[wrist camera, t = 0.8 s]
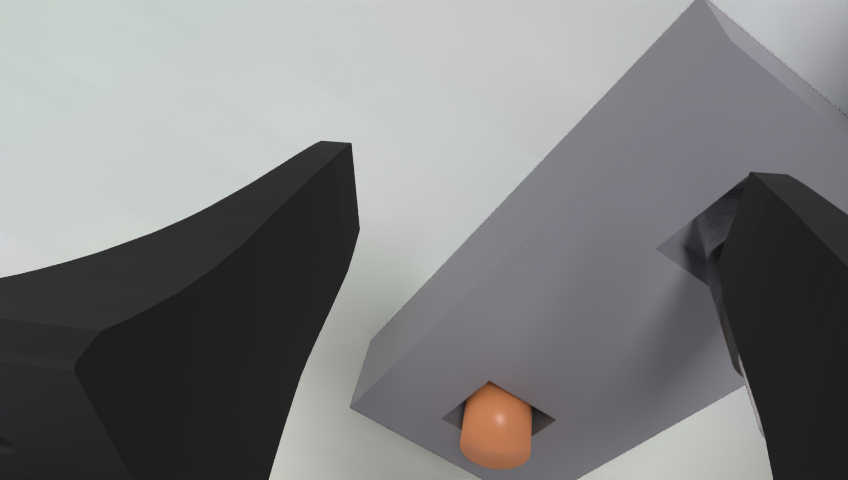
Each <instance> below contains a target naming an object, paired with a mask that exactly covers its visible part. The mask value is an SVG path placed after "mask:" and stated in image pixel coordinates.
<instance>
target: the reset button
mask: <svg viewBox="0 0 848 480" xmlns="http://www.w3.org/2000/svg"><path fill="white" fill-rule="evenodd" d="M531 430H532V405H530V404H528V403H527V402H525V401H523V400H521V399H520V398H518V397H516V396H515V395H513V394H511V393H510V392H508V391H506V390H504V389H503V388H501V387H499V386H498V385H496V384H494V383H492V382H491V381H488V382H487V383H486V384H485V385H483V386H482V387H481V388H479V389H478V390H477V391H476V392H474V393H473V394H472V395H471V396H469V397H468V398H467V399H466V404H465V411H464V418H463V425H462V432H461V439H460V448H461V451H462V452H463V454H464V455H465V456H466V457H467V458H468V459H469V460H471V461H472V462H474V463H476V464H478V465H480V466H483V467H486V468H491V469H511V468H515V467H518V466H520V465H522V464H524V463H525V462H526V461H527V460H528V459H529V457H530V453H531Z"/></svg>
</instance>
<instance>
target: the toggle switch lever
mask: <svg viewBox="0 0 848 480" xmlns="http://www.w3.org/2000/svg"><path fill="white" fill-rule="evenodd" d="M742 193H743V190H729V191H728V192H727V193H725V194H724V195H723V196H722V197H720V198H719V199H718V200H717V201H715V202H714V203H713V204H712V205H710V206H709V207H708V208H707V209H705V210H704V211H703V212H701V213H700V214H699V215H698V216H696V217H695V222H696V226H697V229H698V233H699V236H700V239H701V242H702V246H703V249H704V252H705V255H706V258H707V261H706V264H705V273H706V277H707V281H708V284H709V287H710V291H711V294H712V297H713V301H714V304H715V307H716V311H717V314H718V318H719V321H720V324H721V328H722V331H723V334H724V338H725V341H726V344H727V348H728V351H729V354H730V358H731V361H732V364H733V367H734V369H735V370H736V372H737V373H738V374H739V375H740V376H742V377H743V378H744V381H745V385H746V388H747V391H748V394H749V398H750V401H751V404H752V407H753V411H754V414H755V417H756V420H757V423H758V427H759V430H760V432H761V434H762V436H763V437H764V438H765V436H764V432H763V428H762V425H761V421H760V417H759V414H758V411H757V408H756V405H755V401H754V398H753V395H752V392H751V389H750V386H749V383H748V380H747V377H746V374H745V371H744V368H743V365H742V362H741V359H740V356H739V353H738V350H737V347H736V343H735V340H734V337H733V334H732V331H731V328H730V324H729V321H728V318H727V315H726V311H725V307H724V301H723V295H722V289H721V282H720V275H719V267H718V261H719V258H720V255H721V252H722V250H723V247H724V244H725V241H726V238H727V235H728V233H729V230H730V227H731V224H732V221H733V219H734V216H735V213H736V210H737V207H738V204H739V202H740V199H741V196H742Z"/></svg>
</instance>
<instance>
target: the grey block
mask: <svg viewBox="0 0 848 480" xmlns="http://www.w3.org/2000/svg"><path fill="white" fill-rule="evenodd" d="M750 172H762V173H776V174H788V175H790V176H792V177H793V178H795V179H797V180H798V181H800V182H802V183H803V184H805V185H806V186H808V187H809V188H811V189H812V190H814V191H815V192H817V193H818V194H819V195H821V196H822V197H824V198H825V199H827V200H828V201H829V202H831V203H832V204H833V205H835V206H836V207H838V208H839V209H840V210H842V211H843V212H845V213H846V214H847V215H848V117H847V116H846V115H845V114H843V113H842V112H841V111H840V110H839V109H838V108H836V107H835V106H834V105H833V104H832V103H830V102H829V101H828V100H827V99H826V98H824V97H823V96H822V95H821V94H820V93H818V92H817V91H816V90H815V89H814V88H812V87H811V86H810V85H809V84H808V83H807V82H805V81H804V80H803V79H802V78H801V77H799V76H798V75H797V74H796V73H795V72H793V71H792V70H791V69H790V68H789V67H787V66H786V65H785V64H784V63H783V62H781V61H780V60H779V59H778V58H777V57H776V56H774V55H773V54H772V53H771V52H770V51H768V50H767V49H766V48H765V47H764V46H762V45H761V44H760V43H759V42H758V41H756V40H755V39H754V38H753V37H752V36H750V35H749V34H748V33H747V32H746V31H744V30H743V29H742V28H741V27H740V26H739V25H737V24H736V23H735V22H734V21H733V20H731V19H730V18H729V17H728V16H727V15H725V14H724V13H723V12H722V11H721V10H719V9H718V8H717V7H716V6H715V5H713V4H712V3H711V2H710V1H709V0H695V1H694V2H693V3H692V4H691V5H690V7H689V8H688V9H687V10H686V11H685V12H684V13H683V14H682V15H681V16H680V17H679V18H678V19H677V20H676V21H675V22H674V23H673V24H672V25H671V26H670V27H669V29H668V30H667V31H666V32H665V33H664V34H663V35H662V36H661V37H660V38H659V39H658V40H657V41H656V42H655V43H654V44H653V45H652V46H651V47H650V48H649V50H648V51H647V52H646V53H645V54H644V55H643V56H642V57H641V58H640V59H639V60H638V61H637V62H636V63H635V64H634V65H633V66H632V67H631V68H630V69H629V71H628V72H627V73H626V74H625V75H624V76H623V77H622V78H621V79H620V80H619V81H618V82H617V83H616V84H615V85H614V86H613V87H612V88H611V89H610V90H609V92H608V93H607V94H606V95H605V96H604V97H603V98H602V99H601V100H600V101H599V102H598V103H597V104H596V105H595V106H594V107H593V108H592V109H591V110H590V111H589V112H588V114H587V115H586V116H585V117H584V118H583V119H582V120H581V121H580V122H579V123H578V124H577V125H576V126H575V127H574V128H573V129H572V130H571V131H570V132H569V133H568V135H567V136H566V137H565V138H564V139H563V140H562V141H561V142H560V143H559V144H558V145H557V146H556V147H555V148H554V149H553V150H552V151H551V152H550V153H549V154H548V156H547V157H546V158H545V159H544V160H543V161H542V162H541V163H540V164H539V165H538V166H537V167H536V168H535V169H534V170H533V171H532V172H531V173H530V174H529V175H528V177H527V178H526V179H525V180H524V181H523V182H522V183H521V184H520V185H519V186H518V187H517V188H516V189H515V190H514V191H513V192H512V193H511V194H510V195H509V196H508V197H507V199H506V200H505V201H504V202H503V203H502V204H501V205H500V206H499V207H498V208H497V209H496V210H495V211H494V212H493V213H492V214H491V215H490V216H489V217H488V218H487V220H486V221H485V222H484V223H483V224H482V225H481V226H480V227H479V228H478V229H477V230H476V231H475V232H474V233H473V234H472V235H471V236H470V237H469V238H468V239H467V241H466V242H465V243H464V244H463V245H462V246H461V247H460V248H459V249H458V250H457V251H456V252H455V253H454V254H453V255H452V256H451V257H450V258H449V259H448V260H447V262H446V263H445V264H444V265H443V266H442V267H441V268H440V269H439V270H438V271H437V272H436V273H435V274H434V275H433V276H432V277H431V278H430V279H429V280H428V281H427V283H426V284H425V285H424V286H423V287H422V288H421V289H420V290H419V291H418V292H417V293H416V294H415V295H414V296H413V297H412V298H411V299H410V300H409V301H408V302H407V303H406V305H405V306H404V307H403V308H402V309H401V310H400V311H399V312H398V313H397V314H396V315H395V316H394V317H393V318H392V319H391V320H390V321H389V322H388V323H387V324H386V326H385V327H384V328H383V329H382V330H381V331H380V332H379V333H378V334H377V335H376V336H375V337H374V338H373V339H372V340H371V342H370V346H369V349H368V352H367V355H366V358H365V361H364V364H363V367H362V370H361V373H360V377H359V380H358V383H357V386H356V389H355V392H354V395H353V398H352V401H351V405H350V408H351V409H353V410H355V411H357V412H359V413H360V414H362V415H364V416H366V417H368V418H370V419H372V420H373V421H375V422H377V423H379V424H381V425H383V426H385V427H386V428H388V429H390V430H392V431H394V432H396V433H398V434H399V435H401V436H403V437H405V438H407V439H409V440H410V441H412V442H414V443H416V444H418V445H420V446H422V447H423V448H425V449H427V450H429V451H431V452H433V453H435V454H436V455H438V456H440V457H442V458H444V459H446V460H448V461H449V462H451V463H453V464H455V465H457V466H459V467H461V468H462V469H464V470H466V471H468V472H470V473H472V474H473V475H475V476H477V477H479V478H481V479H483V480H577V479H578V478H580V477H582V476H584V475H586V474H587V473H589V472H591V471H593V470H594V469H596V468H598V467H600V466H602V465H603V464H605V463H607V462H609V461H610V460H612V459H614V458H616V457H618V456H619V455H621V454H623V453H625V452H626V451H628V450H630V449H632V448H634V447H635V446H637V445H639V444H641V443H643V442H644V441H646V440H648V439H650V438H651V437H653V436H655V435H657V434H659V433H660V432H662V431H664V430H666V429H667V428H669V427H671V426H673V425H675V424H676V423H678V422H680V421H682V420H683V419H685V418H687V417H689V416H691V415H692V414H694V413H696V412H698V411H699V410H701V409H703V408H705V407H707V406H708V405H710V404H712V403H714V402H716V401H717V400H719V399H721V398H723V397H724V396H726V395H728V394H730V393H732V392H733V391H735V390H737V389H739V388H740V387H742V386H744V385H745V381H744V378H743V377H742V376H740V375H739V374H738V373H737V372H736V370H735V369H734V367H733V364H732V361H731V358H730V354H729V351H728V348H727V344H726V341H725V338H724V334H723V331H722V328H721V324H720V321H719V318H718V314H717V311H716V307H715V304H714V301H713V297H712V294H711V291H710V287H709V284H708V281H707V277H706V273H705V264H706V261H707V258H706V255H705V252H704V249H703V246H702V242H701V239H700V236H699V233H698V229H697V226H696V222H695V217H696V216H698V215H699V214H700V213H701V212H703V211H704V210H705V209H707V208H708V207H709V206H710V205H712V204H713V203H714V202H715V201H717V200H718V199H719V198H720V197H722V196H723V195H724V194H725V193H727V192H728V191H729V190H744V188H745V185H746V182H747V179H748V176H749V173H750ZM488 381H491V382H492V383H494V384H496V385H498V386H499V387H501V388H503V389H504V390H506V391H508V392H510V393H511V394H513V395H515V396H516V397H518V398H520V399H521V400H523V401H525V402H527V403H528V404H530V405H532V430H531V453H530V457H529V459H528V460H527V461H526V462H525V463H524V464H522V465H520V466H518V467H515V468H511V469H491V468H486V467H483V466H480V465H478V464H476V463H474V462H472V461H471V460H469V459H468V458H467V457H466V456H465V455H464V454H463V452H462V451H461V448H460V439H461V432H462V425H463V418H464V411H465V404H466V399H467V398H468V397H469V396H471V395H472V394H473V393H474V392H476V391H477V390H478V389H479V388H481V387H482V386H483V385H485V384H486V383H487V382H488Z"/></svg>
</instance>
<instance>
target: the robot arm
mask: <svg viewBox="0 0 848 480" xmlns="http://www.w3.org/2000/svg"><path fill="white" fill-rule="evenodd" d="M359 230H360V226H359V216H358V206H357V196H356V185H355V175H354V165H353V154H352V144H351V143H344V142H330V141H320V142H318V143H316V144H314V145H312V146H310V147H308V148H307V149H305V150H303V151H302V152H300V153H298V154H297V155H295V156H294V157H292V158H291V159H289V160H287V161H286V162H284V163H283V164H281V165H280V166H278V167H276V168H275V169H273V170H271V171H270V172H268V173H267V174H265V175H263V176H262V177H260V178H259V179H257V180H255V181H254V182H252V183H251V184H249V185H247V186H245V187H244V188H242V189H240V190H238V191H236V192H235V193H233V194H231V195H229V196H228V197H226V198H224V199H222V200H220V201H219V202H217V203H215V204H213V205H211V206H210V207H208V208H206V209H204V210H202V211H200V212H198V213H196V214H194V215H192V216H190V217H188V218H185V219H183V220H181V221H179V222H176V223H174V224H172V225H170V226H167V227H165V228H163V229H161V230H158V231H156V232H153V233H151V234H148V235H145V236H143V237H140V238H137V239H134V240H132V241H129V242H126V243H123V244H121V245H118V246H115V247H112V248H109V249H107V250H104V251H101V252H98V253H95V254H92V255H88V256H85V257H82V258H78V259H75V260H72V261H68V262H65V263H61V264H57V265H53V266H50V267H46V268H42V269H38V270H34V271H30V272H26V273H22V274H18V275H13V276H8V277H3V278H0V480H269V477H270V473H271V469H272V466H273V463H274V459H275V456H276V453H277V449H278V446H279V443H280V439H281V436H282V433H283V430H284V426H285V423H286V420H287V417H288V414H289V411H290V408H291V404H292V401H293V398H294V395H295V392H296V389H297V386H298V383H299V380H300V377H301V375H302V372H303V370H304V367H305V365H306V362H307V360H308V357H309V355H310V353H311V351H312V349H313V346H314V344H315V342H316V340H317V338H318V336H319V333H320V331H321V329H322V327H323V325H324V323H325V320H326V318H327V316H328V314H329V312H330V310H331V307H332V305H333V303H334V301H335V299H336V296H337V294H338V292H339V290H340V287H341V285H342V283H343V281H344V279H345V276H346V274H347V272H348V269H349V265H350V262H351V259H352V256H353V252H354V249H355V245H356V241H357V238H358V234H359ZM718 267H719V275H720V282H721V289H722V295H723V301H724V307H725V311H726V315H727V318H728V321H729V324H730V328H731V331H732V334H733V337H734V340H735V343H736V347H737V350H738V353H739V356H740V359H741V362H742V365H743V368H744V371H745V374H746V377H747V380H748V383H749V386H750V389H751V392H752V395H753V398H754V401H755V405H756V408H757V411H758V414H759V417H760V421H761V425H762V428H763V432H764V436H765V440H766V445H767V450H768V455H769V460H770V465H771V470H772V475H773V480H848V215H847V214H846V213H845V212H843V211H842V210H840V209H839V208H838V207H836V206H835V205H833V204H832V203H831V202H829V201H828V200H827V199H825V198H824V197H822V196H821V195H819V194H818V193H817V192H815V191H814V190H812V189H811V188H809V187H808V186H806V185H805V184H803V183H802V182H800V181H798V180H797V179H795V178H793V177H792V176H790V175H788V174H776V173H762V172H750V173H749V176H748V179H747V182H746V185H745V188H744V190H743V193H742V196H741V199H740V202H739V204H738V207H737V210H736V213H735V216H734V219H733V221H732V224H731V227H730V230H729V233H728V235H727V238H726V241H725V244H724V247H723V250H722V252H721V255H720V258H719V261H718Z"/></svg>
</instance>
